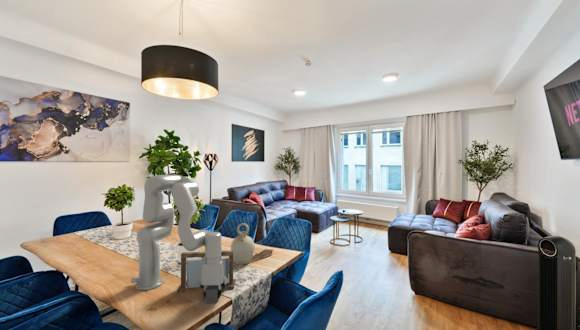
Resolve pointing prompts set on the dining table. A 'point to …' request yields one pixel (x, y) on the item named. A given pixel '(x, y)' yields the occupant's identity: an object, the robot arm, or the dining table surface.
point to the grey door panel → (196, 268)
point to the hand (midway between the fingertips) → (212, 296)
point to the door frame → (202, 254)
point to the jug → (242, 247)
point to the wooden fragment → (262, 255)
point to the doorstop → (212, 294)
